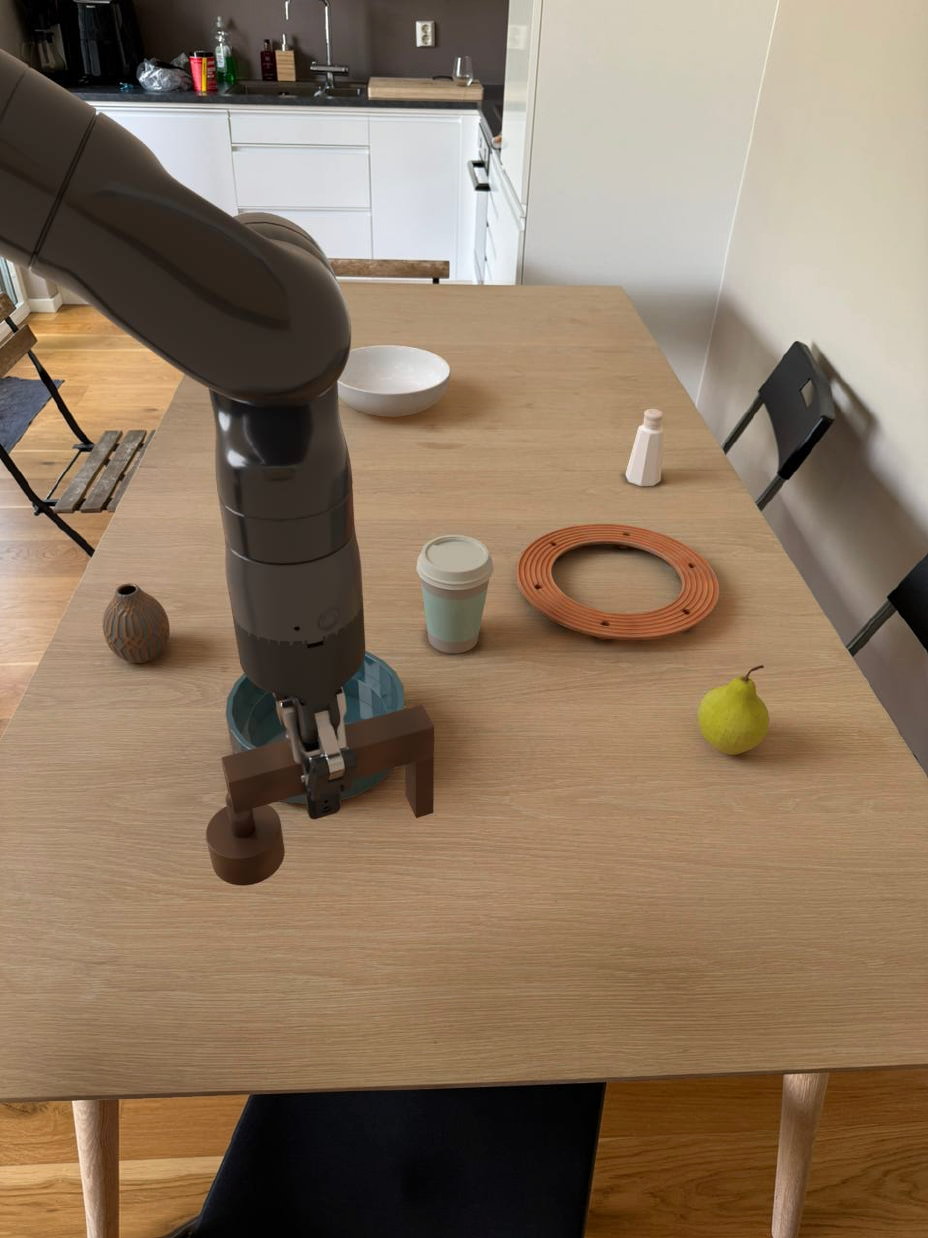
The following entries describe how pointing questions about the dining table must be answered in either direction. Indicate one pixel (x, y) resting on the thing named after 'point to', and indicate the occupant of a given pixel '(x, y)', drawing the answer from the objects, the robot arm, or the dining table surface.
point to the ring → (561, 609)
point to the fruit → (734, 716)
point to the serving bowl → (393, 380)
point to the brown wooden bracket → (268, 774)
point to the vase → (135, 625)
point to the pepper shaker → (647, 451)
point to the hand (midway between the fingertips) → (318, 796)
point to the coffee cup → (454, 590)
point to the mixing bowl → (365, 699)
